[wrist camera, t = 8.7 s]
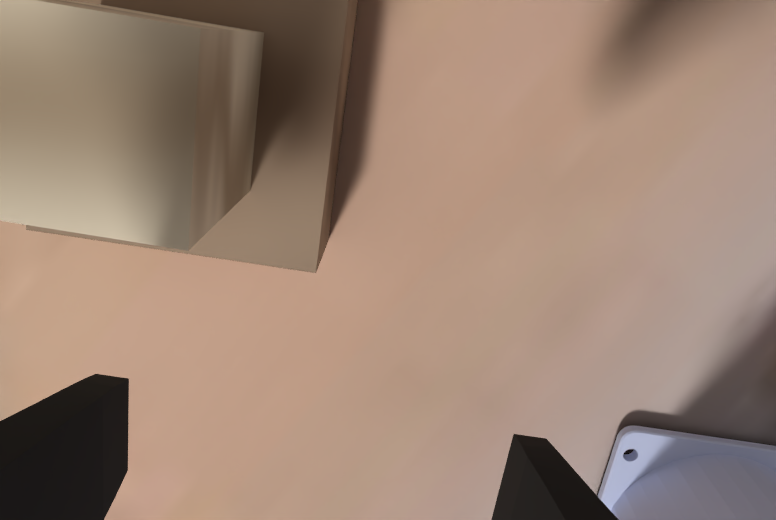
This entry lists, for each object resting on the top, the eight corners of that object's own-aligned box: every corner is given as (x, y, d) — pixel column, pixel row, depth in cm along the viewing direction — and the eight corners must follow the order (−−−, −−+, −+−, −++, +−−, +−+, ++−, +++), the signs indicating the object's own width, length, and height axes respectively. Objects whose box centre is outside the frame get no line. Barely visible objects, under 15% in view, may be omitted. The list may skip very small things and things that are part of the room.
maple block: (249, 190, 16) (188, 251, 12) (99, 166, 16) (-25, 216, 12) (264, 32, 15) (201, 28, 10) (100, 4, 15) (-40, -13, 10)
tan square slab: (328, 240, 20) (315, 272, 17) (80, 202, 20) (26, 229, 17) (361, -29, 17) (353, -43, 15) (75, -75, 17) (10, -99, 14)
